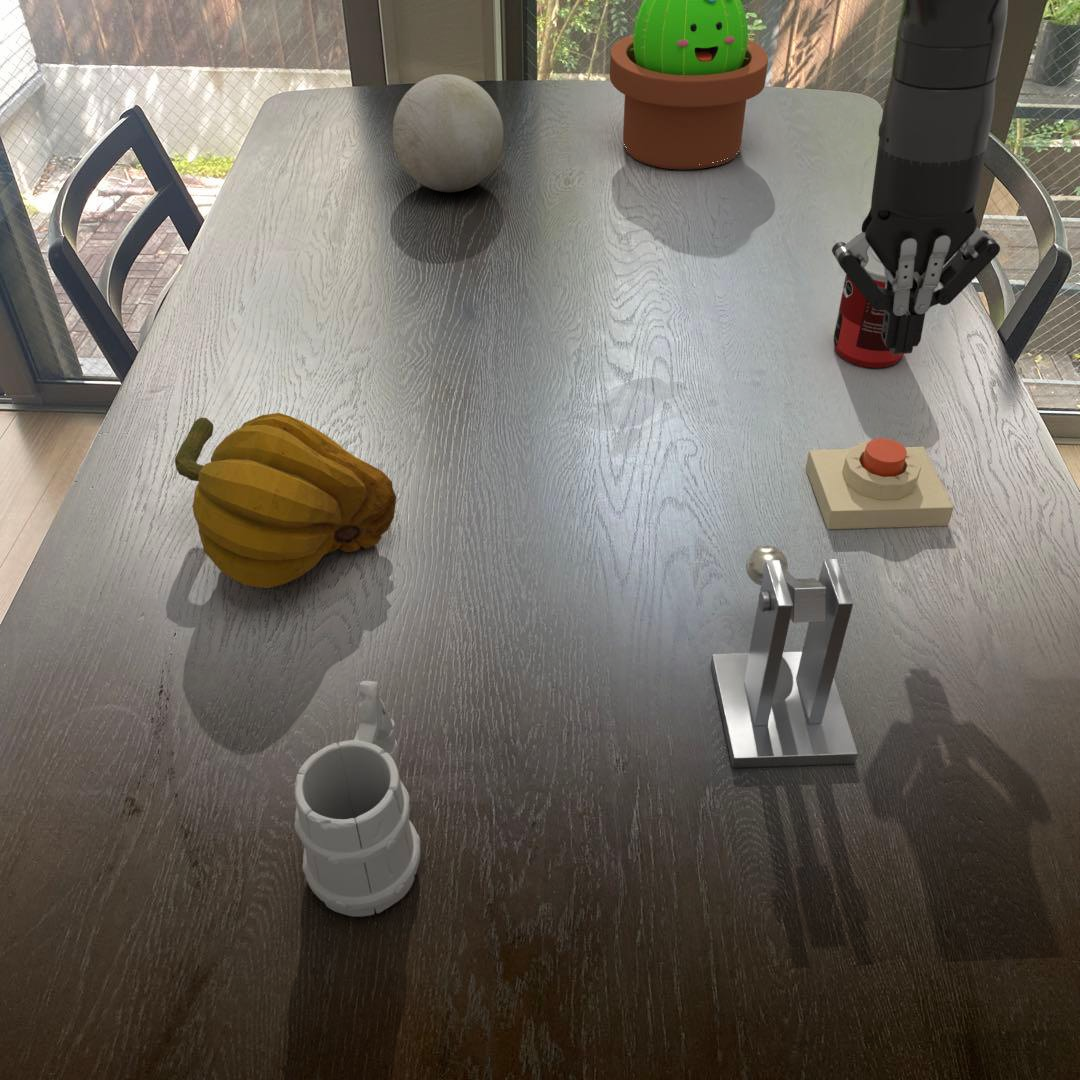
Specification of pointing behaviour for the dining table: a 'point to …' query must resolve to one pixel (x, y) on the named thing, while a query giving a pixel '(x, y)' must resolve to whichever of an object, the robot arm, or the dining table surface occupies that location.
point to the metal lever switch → (787, 682)
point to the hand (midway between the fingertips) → (899, 349)
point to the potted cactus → (687, 82)
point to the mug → (357, 817)
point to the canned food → (862, 323)
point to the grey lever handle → (791, 586)
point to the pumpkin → (281, 498)
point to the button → (884, 457)
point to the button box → (877, 491)
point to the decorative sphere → (448, 133)
